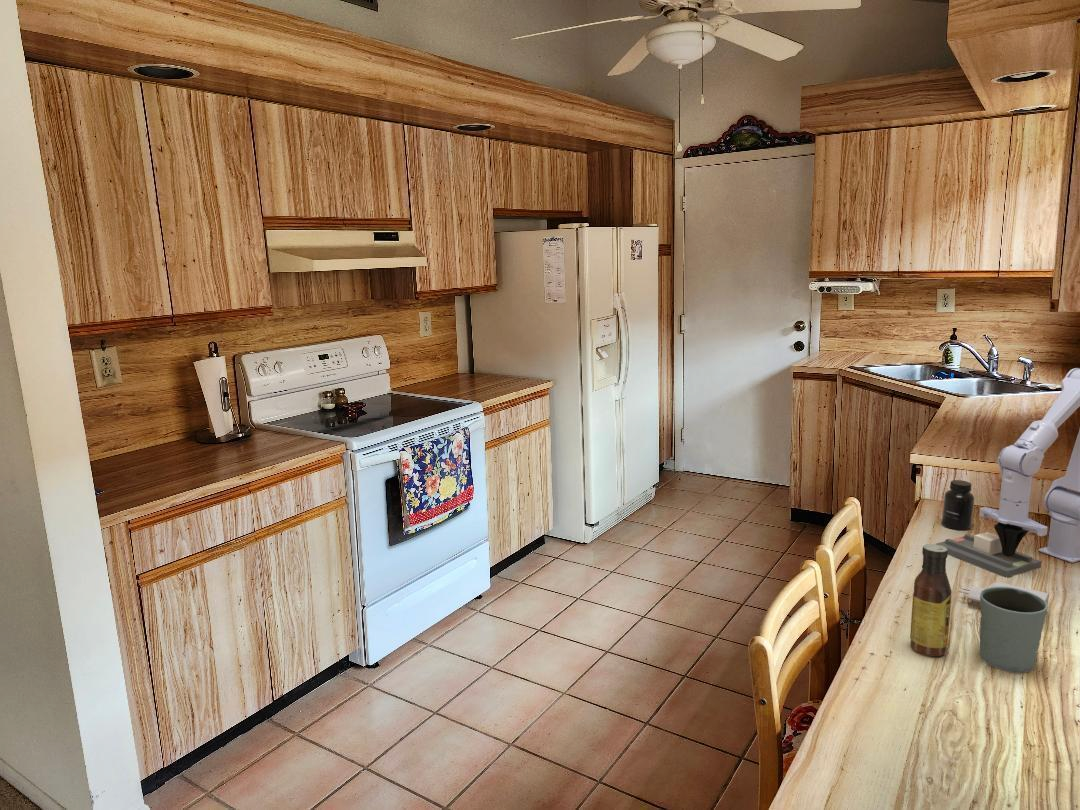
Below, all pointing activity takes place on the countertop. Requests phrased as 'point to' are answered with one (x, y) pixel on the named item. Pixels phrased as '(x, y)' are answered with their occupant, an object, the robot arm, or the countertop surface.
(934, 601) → the sauce bottle
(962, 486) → the supplement bottle
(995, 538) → the slider knob
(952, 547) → the switch track
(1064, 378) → the robot arm
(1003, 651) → the grey cup
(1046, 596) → the charger
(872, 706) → the countertop surface
